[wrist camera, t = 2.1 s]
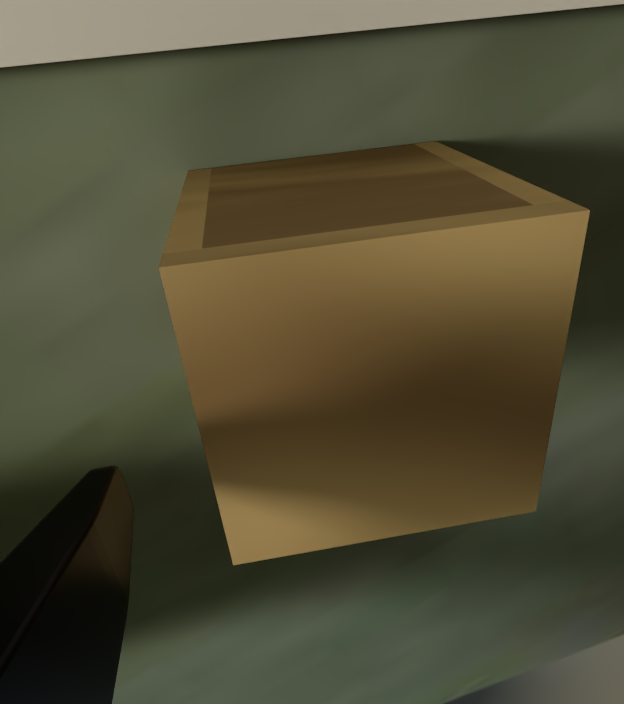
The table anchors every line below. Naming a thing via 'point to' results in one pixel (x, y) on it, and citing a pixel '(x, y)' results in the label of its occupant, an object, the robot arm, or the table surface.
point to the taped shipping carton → (370, 341)
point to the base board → (219, 22)
